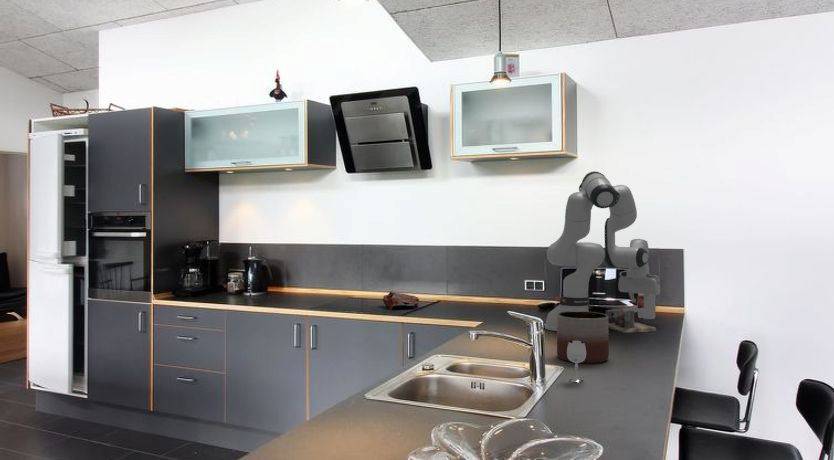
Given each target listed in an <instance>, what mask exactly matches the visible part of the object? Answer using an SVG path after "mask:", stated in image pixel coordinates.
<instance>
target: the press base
mask: <svg viewBox="0 0 834 460" xmlns="http://www.w3.org/2000/svg"><path fill="white" fill-rule="evenodd" d="M608 329H610V330H613V331H617V332H620V333H624V334H625V333H647V332H657V327H655V326H651V325H647V324H645V323H640V322H637V321H635V312H634V311H633V310H629V311H625V312H624V311H620V312H619V314H618V317H616V318H614V322H613V323H609V322H608Z"/></svg>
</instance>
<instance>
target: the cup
mask: <svg viewBox="0 0 834 460" xmlns="http://www.w3.org/2000/svg"><path fill="white" fill-rule="evenodd" d="M637 296H644V294H638V293H637ZM656 296H657V295H649V298H648V300H647V304H644V308H643V311H640V312H637V317H638V319H641V318H643V319H642V320H655V319H656ZM644 298H645V297H644Z"/></svg>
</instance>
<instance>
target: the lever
mask: <svg viewBox="0 0 834 460" xmlns="http://www.w3.org/2000/svg"><path fill="white" fill-rule="evenodd" d="M642 300H644V296H638V295H637V299H636V303H637V304H636V306H637V307H630V308H621V309H620V308H614V309H608V310H605V314H606V315H608V319H613V318H614V319H615V318H616V317H618V314H619V312H620V311H624V312H625V311H629V310H633V311H634V313H638V312H640V311H643V308H644V304H643V303H642Z"/></svg>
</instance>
